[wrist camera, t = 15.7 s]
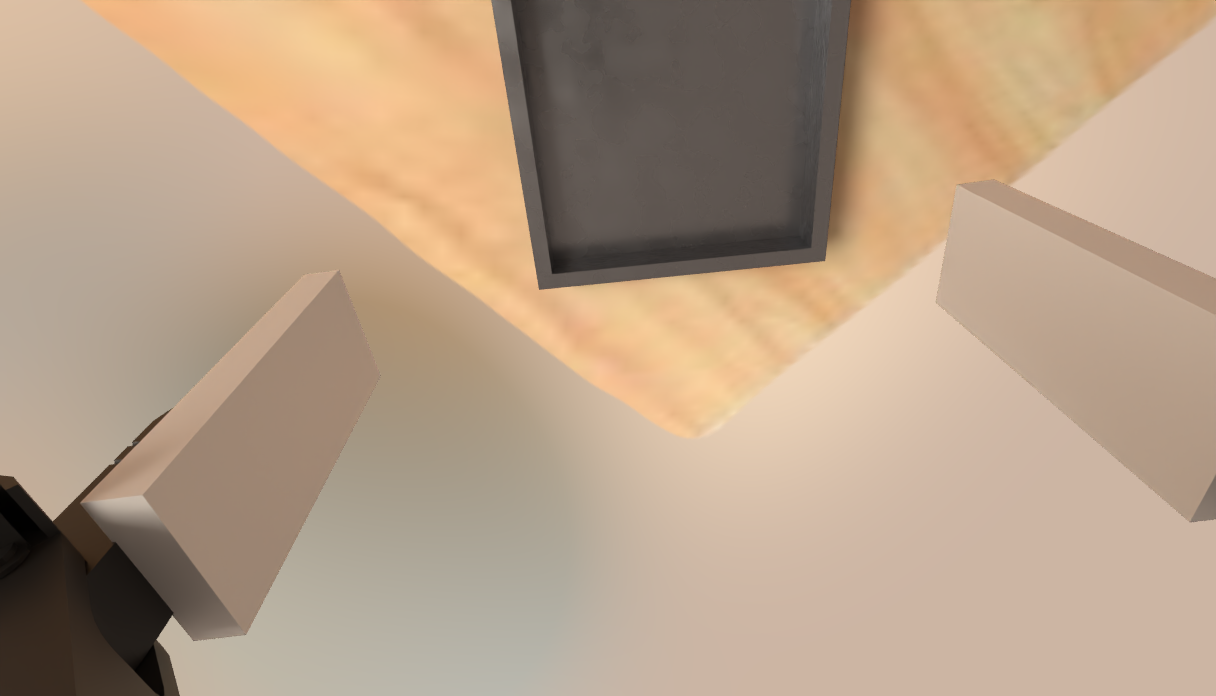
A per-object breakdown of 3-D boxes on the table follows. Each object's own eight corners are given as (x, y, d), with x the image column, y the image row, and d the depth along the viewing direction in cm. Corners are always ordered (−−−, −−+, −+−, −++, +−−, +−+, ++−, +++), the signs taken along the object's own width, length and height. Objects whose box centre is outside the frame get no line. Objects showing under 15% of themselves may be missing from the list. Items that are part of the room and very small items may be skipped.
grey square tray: (491, -49, 33) (482, -55, 30) (834, -86, 32) (860, -96, 29) (542, 269, 42) (539, 289, 39) (807, 242, 42) (825, 260, 39)
